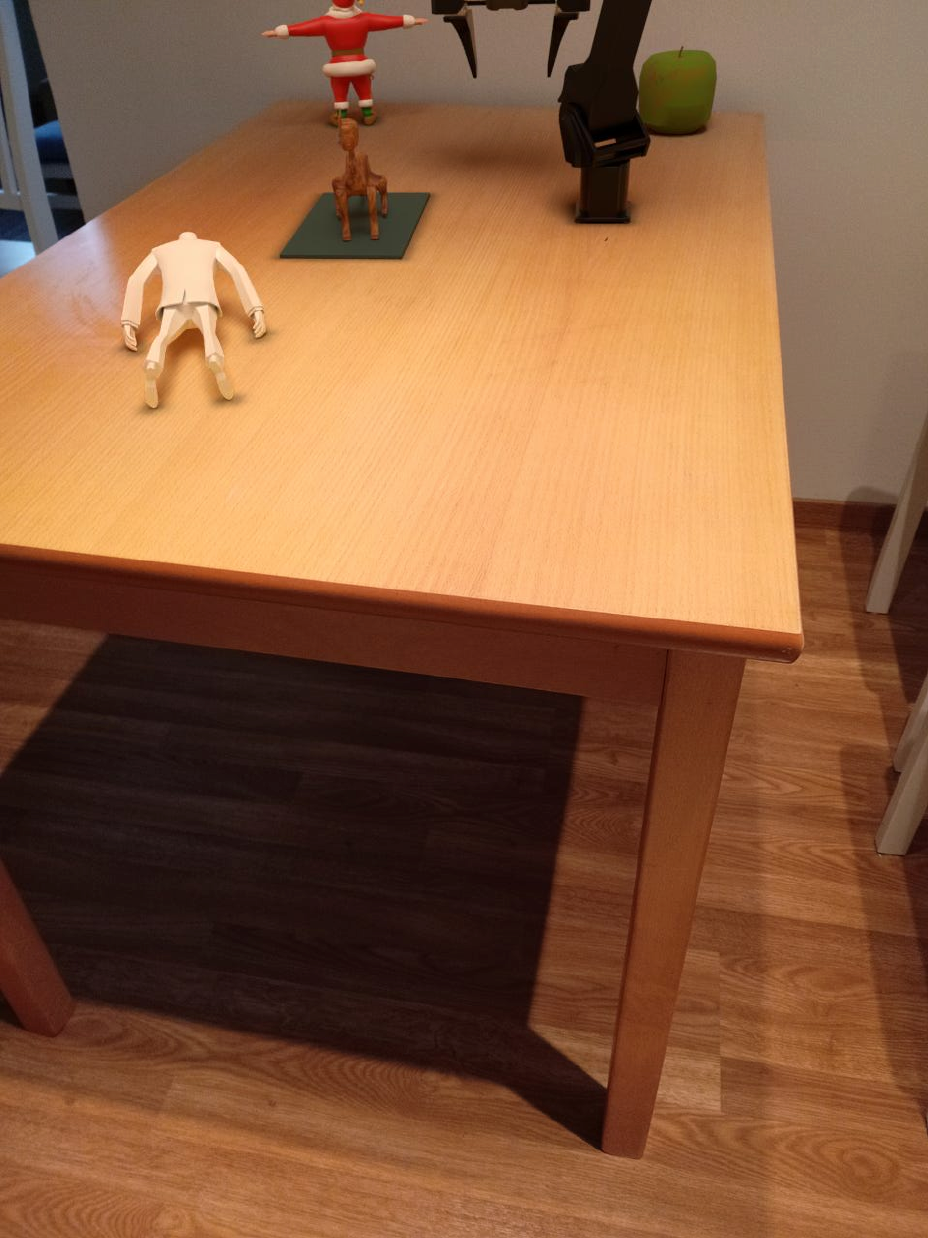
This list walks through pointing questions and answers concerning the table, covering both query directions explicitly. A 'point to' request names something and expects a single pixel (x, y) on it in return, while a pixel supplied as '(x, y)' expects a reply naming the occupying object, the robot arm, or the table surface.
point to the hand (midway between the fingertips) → (512, 77)
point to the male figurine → (187, 303)
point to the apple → (677, 90)
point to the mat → (357, 228)
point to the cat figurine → (357, 180)
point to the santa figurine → (347, 50)
